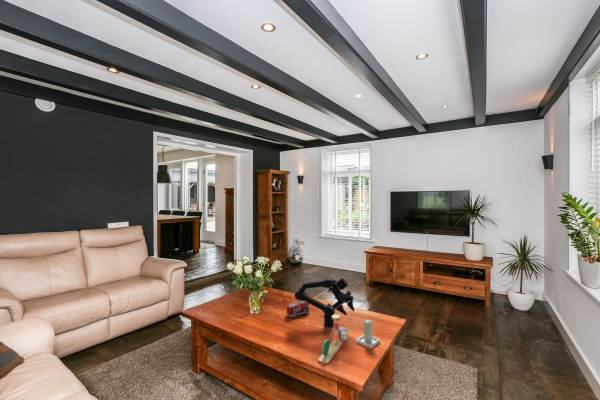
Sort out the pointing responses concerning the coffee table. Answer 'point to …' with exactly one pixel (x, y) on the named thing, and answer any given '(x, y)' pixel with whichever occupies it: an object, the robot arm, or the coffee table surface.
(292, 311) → the toy fire truck
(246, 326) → the coffee table surface
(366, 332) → the pale green cylinder
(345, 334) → the white rounded cylinder
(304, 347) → the coffee table surface
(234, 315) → the coffee table surface
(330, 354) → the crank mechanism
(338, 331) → the grey block
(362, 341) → the white tray
